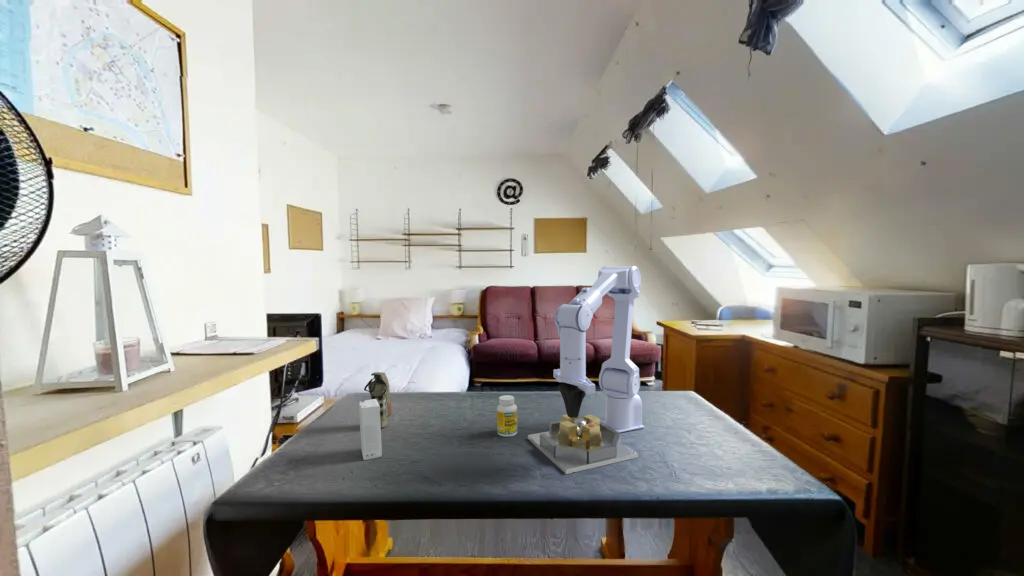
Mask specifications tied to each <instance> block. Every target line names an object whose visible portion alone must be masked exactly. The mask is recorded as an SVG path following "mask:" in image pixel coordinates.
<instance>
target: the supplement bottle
mask: <svg viewBox="0 0 1024 576" xmlns="http://www.w3.org/2000/svg"><path fill="white" fill-rule="evenodd" d="M498 399H499V401H498V402H499V404H497V407H496V420H497V421H496V428H497V429H496V430H497V431H496V432H497V435H498V436H500V437H503V438H504V437H505V438H507V437H514V436H516V435H517V433H518V406H517V405H516V404H515V397H514V396H513V395H508V394H507V395H500V396H499V398H498Z"/></svg>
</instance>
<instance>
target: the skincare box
mask: <svg viewBox="0 0 1024 576" xmlns="http://www.w3.org/2000/svg"><path fill="white" fill-rule="evenodd" d="M358 412H359V415H358V416H359V430H360V448H361V454H362V459H363V460H364V461H365V460H366V461H367V460H373V459H378V458H382V456H383V450H382V431H381V430H382V429H381V424H380V406H379V404H378V402H377V400H376V399H371V398H370V399H367V400H366V399H365V400H360V401H358Z"/></svg>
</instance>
